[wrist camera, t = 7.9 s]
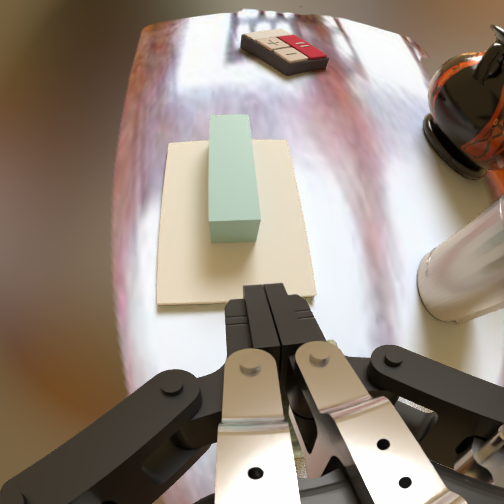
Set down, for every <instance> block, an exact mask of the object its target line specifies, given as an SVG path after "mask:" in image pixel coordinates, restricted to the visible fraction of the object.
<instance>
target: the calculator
mask: <svg viewBox="0 0 504 504" xmlns="http://www.w3.org/2000/svg"><path fill="white" fill-rule="evenodd" d="M240 48H242V49H244V50H245V51H247V52H249V53H251V54H254V55H255V56H257V57H258V58H260V59H261V60H263V61H264V62H266V63H267V64H269V65H270V66H272V67H274V68H275V69H277V70H278V71H280V72H281V73H283V74H284V75H286V76H289V75H294V74H298V73H303V72H308V71H313V70H318V69H324V68H326V66H327V63H328V60H329V58H328V57H327V55H326V54H324V53H323V52H321V51H320V50H318V49H317V48H315V47H313V46H312V45H310V44H309V43H307V42H305V41H304V40H302V39H300V38H299V37H297V36H295V35H292V34H290V33H288V32H287V31H285V30H283V29H274V30H266V31H259V32H252V33H246V34H243V35H242V37H241V45H240Z"/></svg>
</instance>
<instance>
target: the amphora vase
mask: <svg viewBox="0 0 504 504" xmlns="http://www.w3.org/2000/svg"><path fill="white" fill-rule="evenodd" d="M490 27H491V29H492V31H493V32H494V33H495V35H496V36H497V37H496V41H495V43H493V44H492V45H491V46H490V47H489V48H488V49H487V51H482V52H473V53H465V54H460V55H457V56H454V57H453V58H451V59H449V60H448V61H446V62H445V63H444V64H442V65H441V67H440V68H439V69H438V70H437V71H436V72H435V74H434V76H433V78H432V80H431V82H430V85H429V91H428V103H429V108H430V112H431V113H428V114H427V115H426V116H425V117H424V120H423V125H424V130H425V133H426V135H427V137H428V139H429V141H430V142H431V144H432V145H433V147H434V148H435V150H436V151H437V152H438V153H439V154H440V156H441V157H442V158H443V159H444V160H445V161H446V162H447V163H448V164H449V165H450V166H452V167H453V168H454V169H455V170H456V171H458V172H459V173H461V174H462V175H464V176H466V177H468V178H471V179H481V178H483V177H484V176H485V174H486V171H487V170H492V171H503V170H504V30H503V29H502V28H500V27H499V26H498V25H496V24H490Z"/></svg>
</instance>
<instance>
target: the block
mask: <svg viewBox="0 0 504 504" xmlns="http://www.w3.org/2000/svg"><path fill="white" fill-rule="evenodd" d="M208 205H209V229H210V237H211V244H212V243H235V242H256V240H257V235H258V231H259V226H260V222H261V215H260V206H259V198H258V189H257V180H256V172H255V164H254V155H253V147H252V139H251V131H250V123H249V115H210V121H209V176H208Z"/></svg>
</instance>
